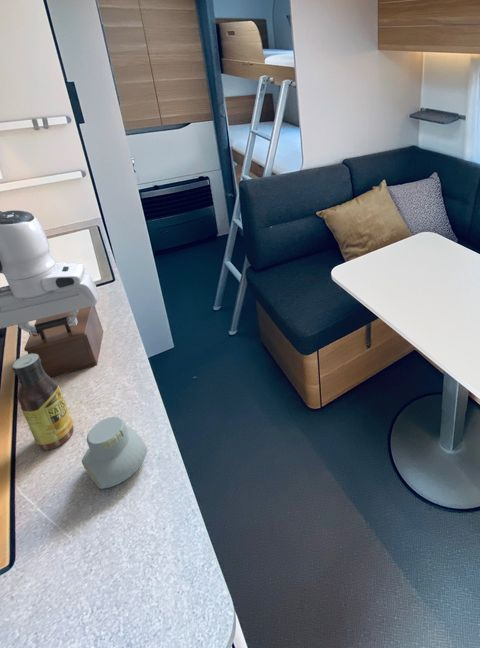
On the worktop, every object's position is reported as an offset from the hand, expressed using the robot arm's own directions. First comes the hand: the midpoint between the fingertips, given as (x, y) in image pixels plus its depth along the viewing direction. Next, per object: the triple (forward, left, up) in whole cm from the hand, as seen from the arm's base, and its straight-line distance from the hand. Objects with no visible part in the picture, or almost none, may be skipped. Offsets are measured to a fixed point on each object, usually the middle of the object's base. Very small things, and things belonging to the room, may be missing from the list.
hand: (55, 329), depth 96 cm
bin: (0, +5, -12) cm, 13 cm away
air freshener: (+13, -34, -12) cm, 38 cm away
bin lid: (0, +5, -2) cm, 6 cm away
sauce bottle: (+1, -21, -12) cm, 24 cm away
